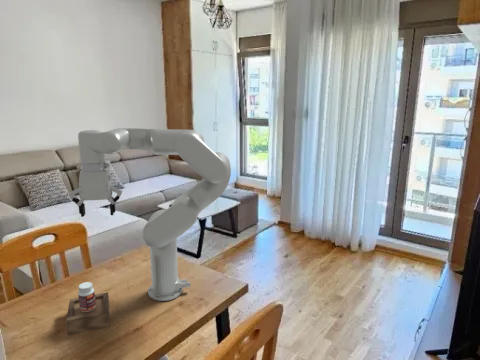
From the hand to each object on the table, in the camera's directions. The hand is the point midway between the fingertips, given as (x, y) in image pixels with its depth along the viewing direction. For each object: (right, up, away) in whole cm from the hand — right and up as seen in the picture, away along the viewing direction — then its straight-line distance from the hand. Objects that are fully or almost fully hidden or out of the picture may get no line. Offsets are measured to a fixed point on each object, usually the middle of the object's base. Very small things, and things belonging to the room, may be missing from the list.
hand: (98, 214), depth 121 cm
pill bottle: (+1, -30, -9) cm, 31 cm away
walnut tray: (+1, -33, -8) cm, 34 cm away
